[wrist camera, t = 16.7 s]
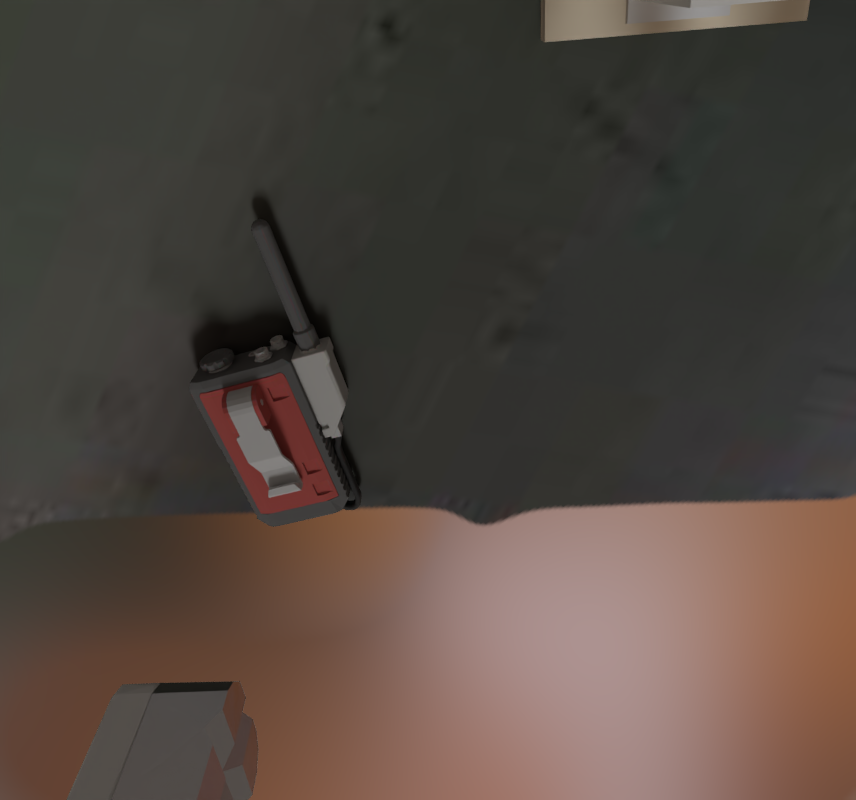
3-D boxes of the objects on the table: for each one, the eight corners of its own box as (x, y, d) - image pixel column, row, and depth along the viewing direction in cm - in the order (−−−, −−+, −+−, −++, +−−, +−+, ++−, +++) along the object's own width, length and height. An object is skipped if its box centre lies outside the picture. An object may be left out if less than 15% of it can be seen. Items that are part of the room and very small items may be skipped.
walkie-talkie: (391, 486, 50) (280, 207, 40) (388, 529, 46) (264, 232, 36) (272, 513, 51) (137, 249, 41) (259, 557, 47) (106, 278, 37)
